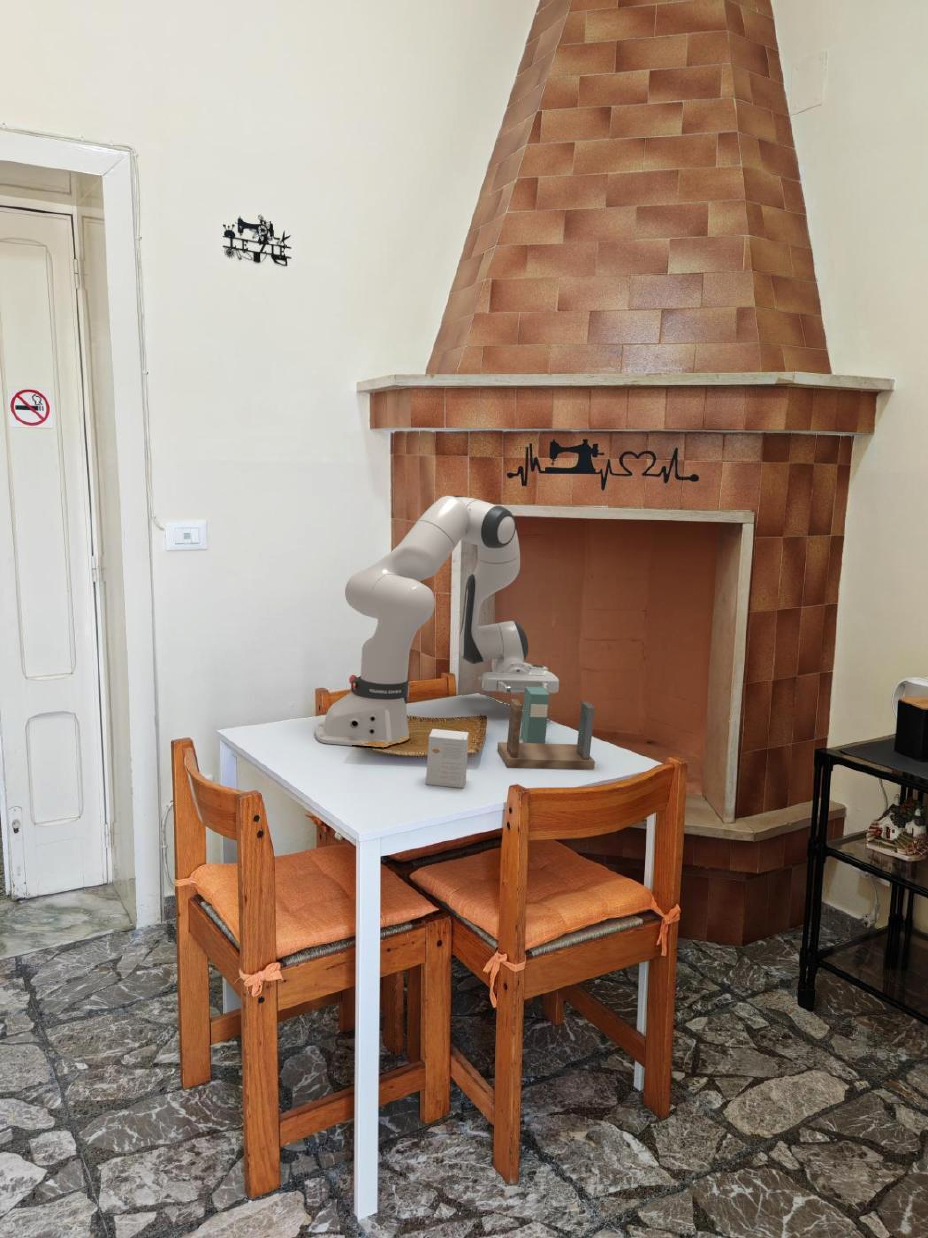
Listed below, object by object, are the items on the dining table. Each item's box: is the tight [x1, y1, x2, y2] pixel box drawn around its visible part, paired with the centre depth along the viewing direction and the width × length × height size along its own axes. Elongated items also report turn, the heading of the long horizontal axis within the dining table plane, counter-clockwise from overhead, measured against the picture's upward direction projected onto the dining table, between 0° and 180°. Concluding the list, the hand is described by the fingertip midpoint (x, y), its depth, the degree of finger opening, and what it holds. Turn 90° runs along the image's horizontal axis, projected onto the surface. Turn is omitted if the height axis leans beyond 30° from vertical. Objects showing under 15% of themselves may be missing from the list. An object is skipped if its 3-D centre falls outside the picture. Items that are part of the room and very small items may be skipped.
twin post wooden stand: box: [496, 698, 596, 770], centre depth 211 cm, size 20×12×14 cm, turn 98°
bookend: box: [576, 701, 595, 760], centre depth 210 cm, size 2×6×12 cm, turn 9°
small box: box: [425, 728, 470, 789], centre depth 192 cm, size 8×6×10 cm
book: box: [520, 687, 550, 744], centre depth 224 cm, size 4×7×13 cm, turn 8°
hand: (525, 690), depth 236 cm, fingers open, 8 cm apart
